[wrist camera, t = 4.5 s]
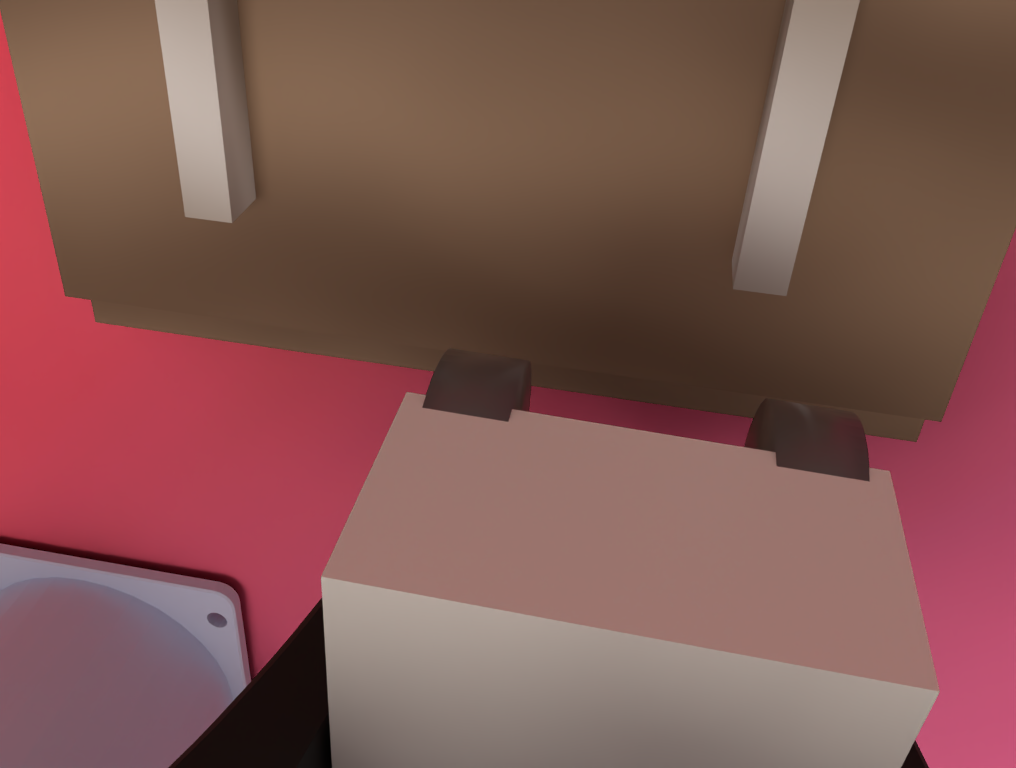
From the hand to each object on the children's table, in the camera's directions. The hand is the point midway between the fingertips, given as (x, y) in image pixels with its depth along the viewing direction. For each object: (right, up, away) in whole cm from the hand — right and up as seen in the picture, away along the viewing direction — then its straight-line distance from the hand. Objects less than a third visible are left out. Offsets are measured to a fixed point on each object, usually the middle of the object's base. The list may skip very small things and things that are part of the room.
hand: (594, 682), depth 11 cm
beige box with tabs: (0, +1, +2) cm, 2 cm away
